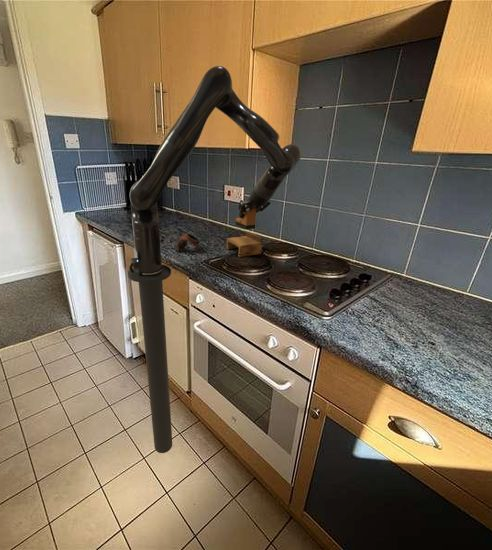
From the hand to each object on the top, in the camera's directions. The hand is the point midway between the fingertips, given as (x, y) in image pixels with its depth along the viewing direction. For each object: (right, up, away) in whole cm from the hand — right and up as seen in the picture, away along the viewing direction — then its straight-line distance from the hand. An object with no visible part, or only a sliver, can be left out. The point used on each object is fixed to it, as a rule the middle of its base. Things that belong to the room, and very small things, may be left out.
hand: (245, 215), depth 128 cm
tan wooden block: (0, -14, +7) cm, 16 cm away
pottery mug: (-26, -14, +6) cm, 30 cm away
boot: (0, -4, +2) cm, 5 cm away
